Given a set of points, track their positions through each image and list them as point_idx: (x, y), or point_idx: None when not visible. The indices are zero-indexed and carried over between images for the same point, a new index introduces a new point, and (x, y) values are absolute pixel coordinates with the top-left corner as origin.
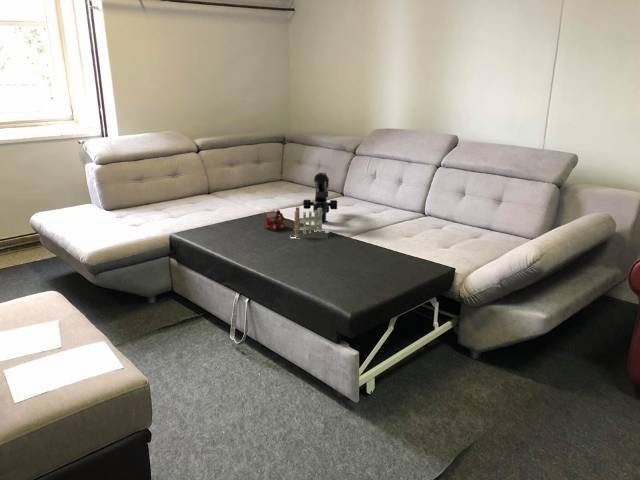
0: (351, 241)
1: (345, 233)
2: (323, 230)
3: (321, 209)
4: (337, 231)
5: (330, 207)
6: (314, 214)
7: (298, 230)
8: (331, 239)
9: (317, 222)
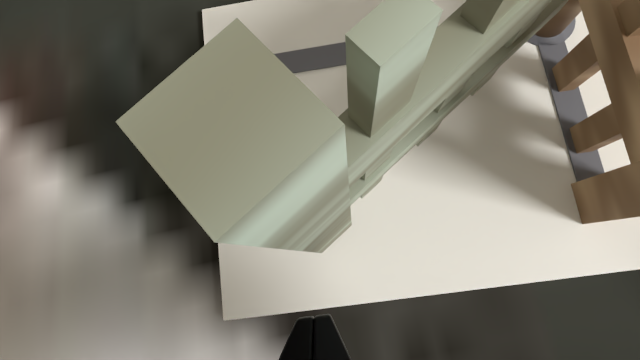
0: (5, 17)
1: (42, 258)
2: (286, 298)
3: (172, 114)
4: (127, 322)
5: None
6: (414, 77)
7: (588, 179)
8: (178, 28)
9: (349, 212)
